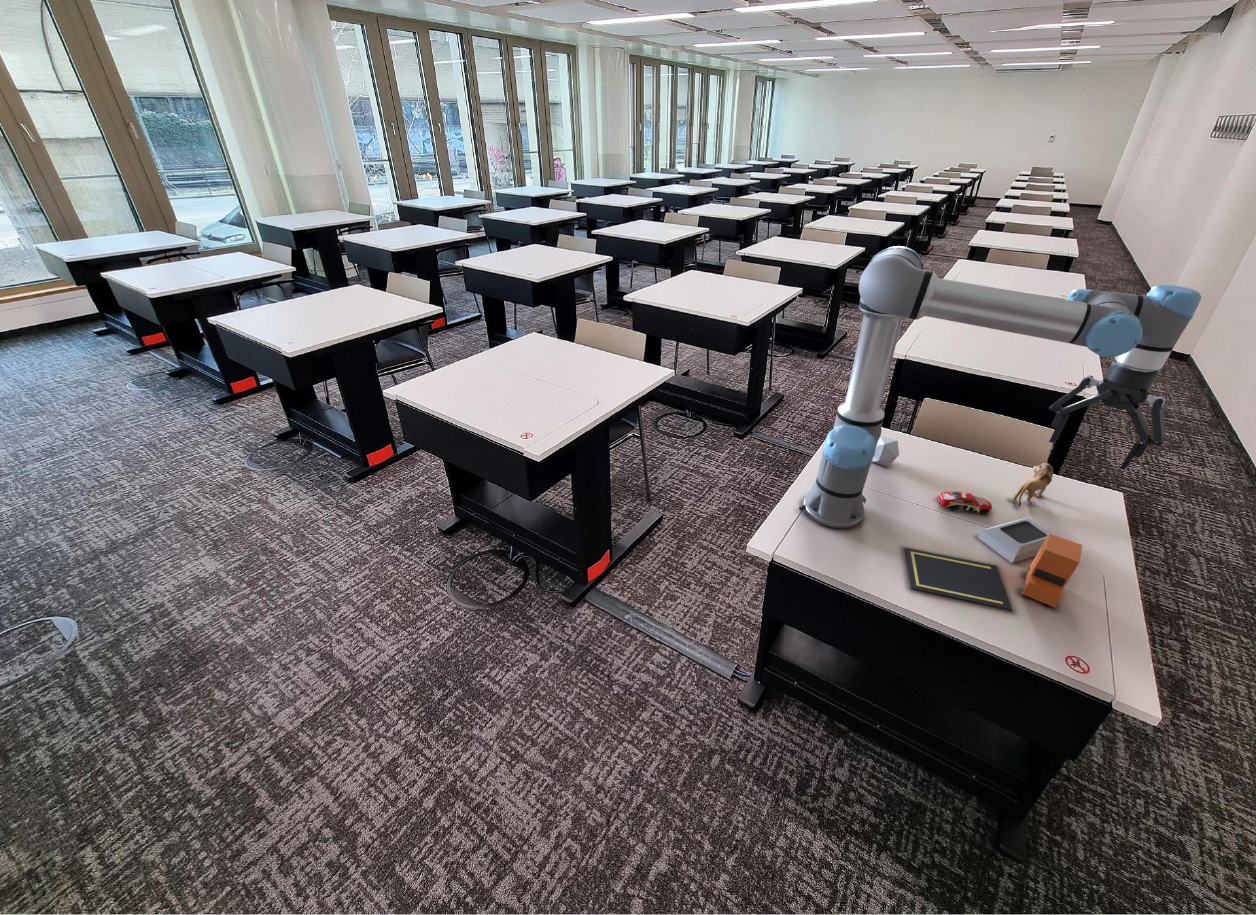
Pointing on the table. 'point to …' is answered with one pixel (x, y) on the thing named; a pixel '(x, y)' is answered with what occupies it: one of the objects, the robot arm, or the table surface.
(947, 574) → the mat
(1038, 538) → the grey low boxy piece
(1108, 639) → the table surface
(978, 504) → the race car
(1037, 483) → the lion figurine
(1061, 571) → the toy van
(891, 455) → the die
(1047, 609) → the table surface
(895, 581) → the table surface
